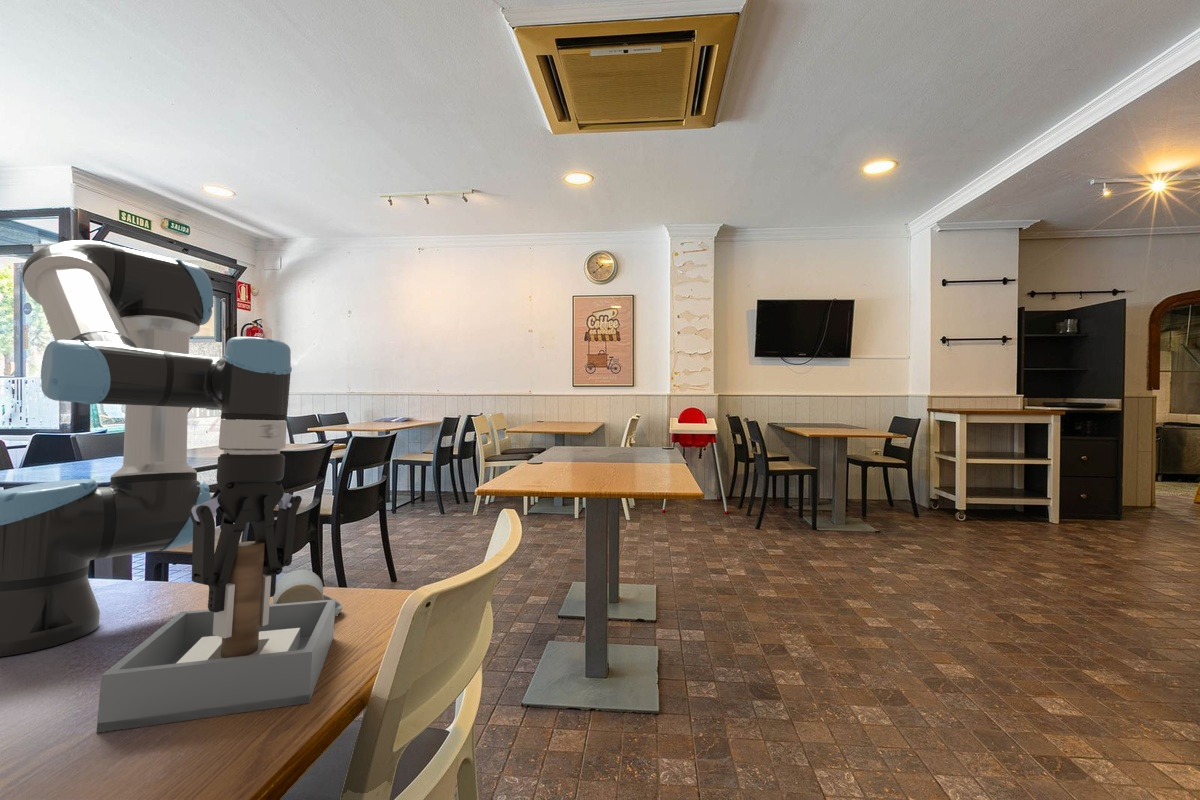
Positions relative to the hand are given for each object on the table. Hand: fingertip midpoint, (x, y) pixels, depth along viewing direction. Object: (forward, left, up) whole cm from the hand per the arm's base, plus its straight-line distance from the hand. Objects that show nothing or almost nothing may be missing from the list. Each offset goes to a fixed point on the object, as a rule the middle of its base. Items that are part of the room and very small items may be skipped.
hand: (241, 628), depth 67 cm
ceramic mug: (-21, +4, -7) cm, 22 cm away
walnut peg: (0, 0, -3) cm, 3 cm away
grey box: (0, 0, -6) cm, 6 cm away
